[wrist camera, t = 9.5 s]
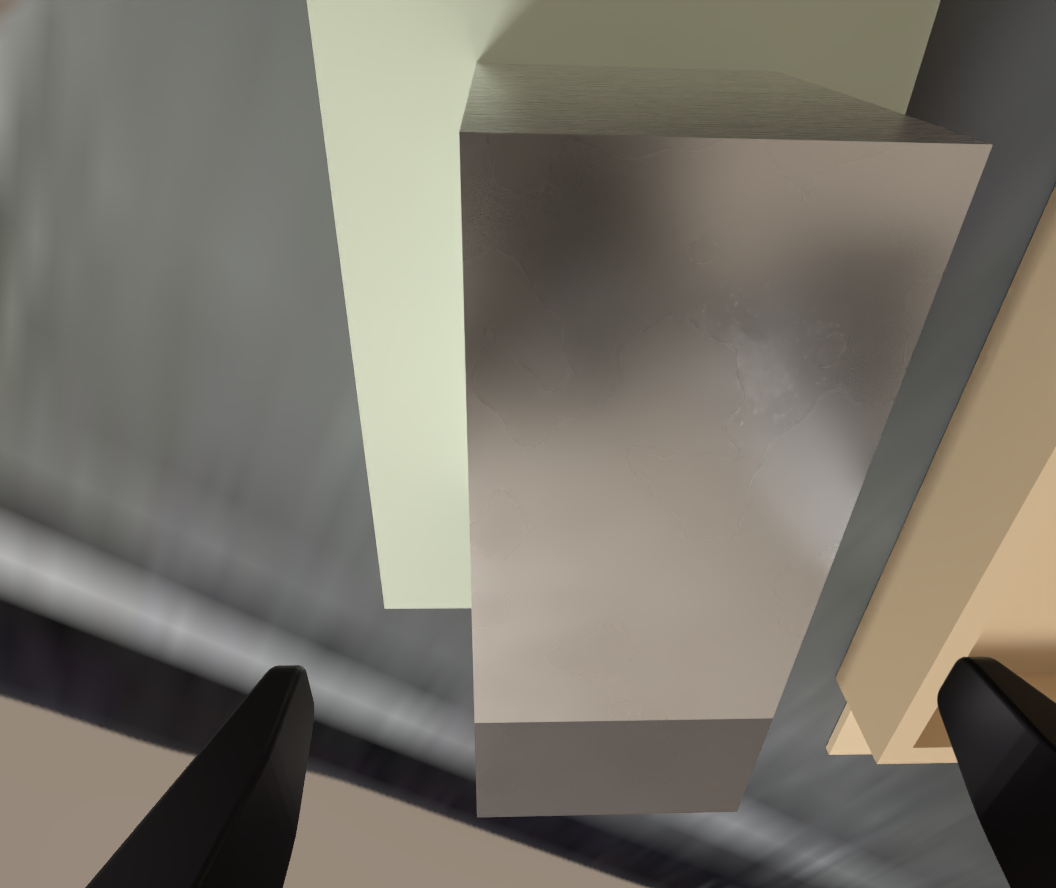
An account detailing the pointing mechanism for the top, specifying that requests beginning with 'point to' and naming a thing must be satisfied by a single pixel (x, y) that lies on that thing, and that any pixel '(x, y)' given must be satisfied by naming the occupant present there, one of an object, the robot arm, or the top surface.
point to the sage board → (435, 197)
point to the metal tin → (673, 405)
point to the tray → (970, 541)
